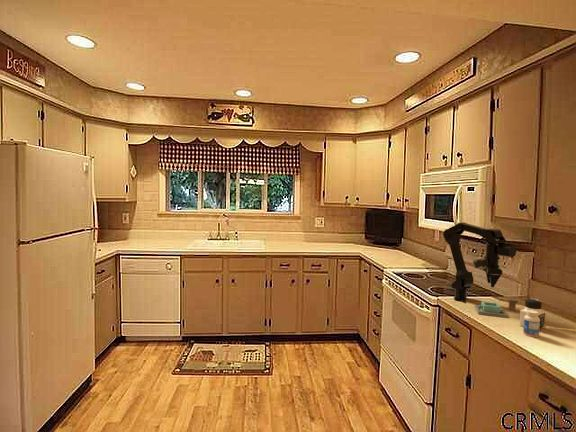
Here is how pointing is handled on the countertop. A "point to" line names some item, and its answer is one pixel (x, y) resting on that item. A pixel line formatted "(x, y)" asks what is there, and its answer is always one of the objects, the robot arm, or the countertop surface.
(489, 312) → the tray
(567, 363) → the countertop surface
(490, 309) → the ring
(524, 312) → the labeled white jar
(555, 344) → the countertop surface
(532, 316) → the pill bottle
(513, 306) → the brown peg stand
